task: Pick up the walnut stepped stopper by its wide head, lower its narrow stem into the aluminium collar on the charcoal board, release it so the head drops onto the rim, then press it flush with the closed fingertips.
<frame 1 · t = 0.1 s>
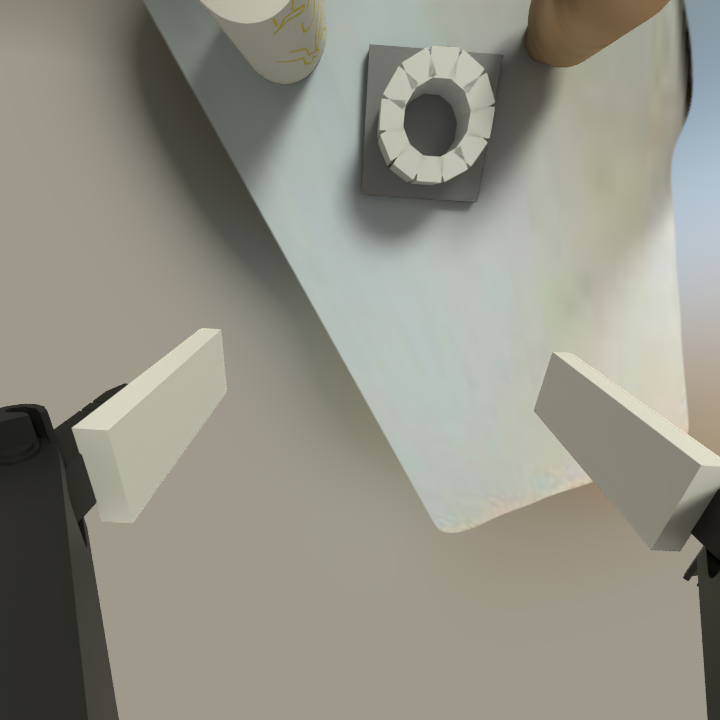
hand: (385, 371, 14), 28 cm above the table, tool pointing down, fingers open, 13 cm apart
cup: (281, 29, 31), on the table
stopper: (548, 34, 31), on the table
socket: (425, 131, 34), on the table
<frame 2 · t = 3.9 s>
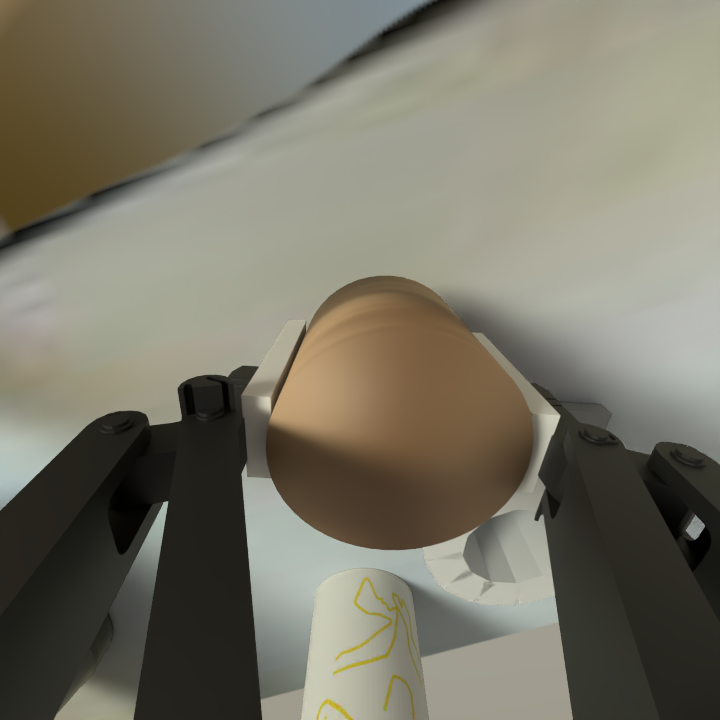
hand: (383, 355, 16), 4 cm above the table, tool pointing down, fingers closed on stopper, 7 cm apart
cup: (363, 598, 29), on the table
stopper: (378, 326, 19), on the table, touching gripper
socket: (482, 475, 24), on the table
when the fingers open (7 cm above the table, at t = 9.5 s): stopper drops 1 cm, resting on socket.
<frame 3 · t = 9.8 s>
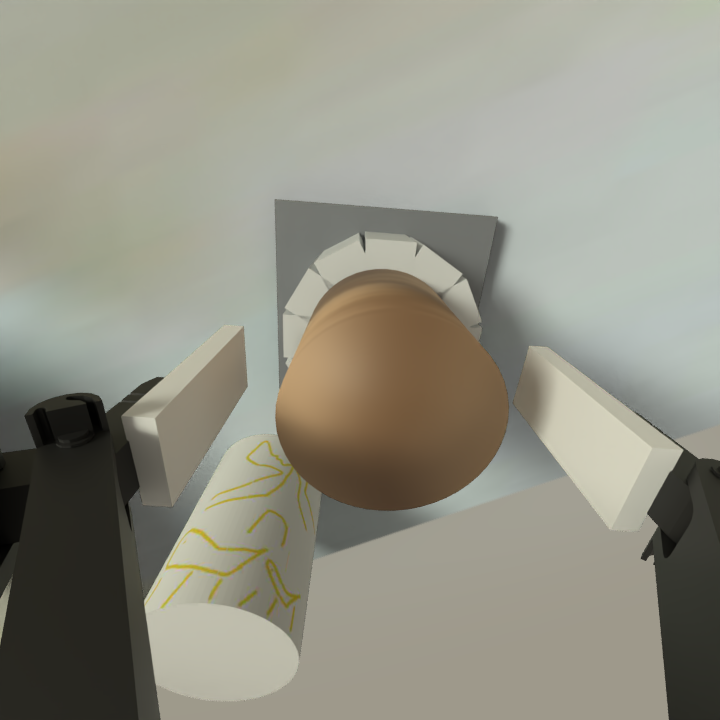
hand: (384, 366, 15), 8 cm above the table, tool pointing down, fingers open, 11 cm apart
cup: (272, 475, 28), on the table
stopper: (376, 317, 21), point 1 cm above the table, touching socket
socket: (376, 311, 22), on the table
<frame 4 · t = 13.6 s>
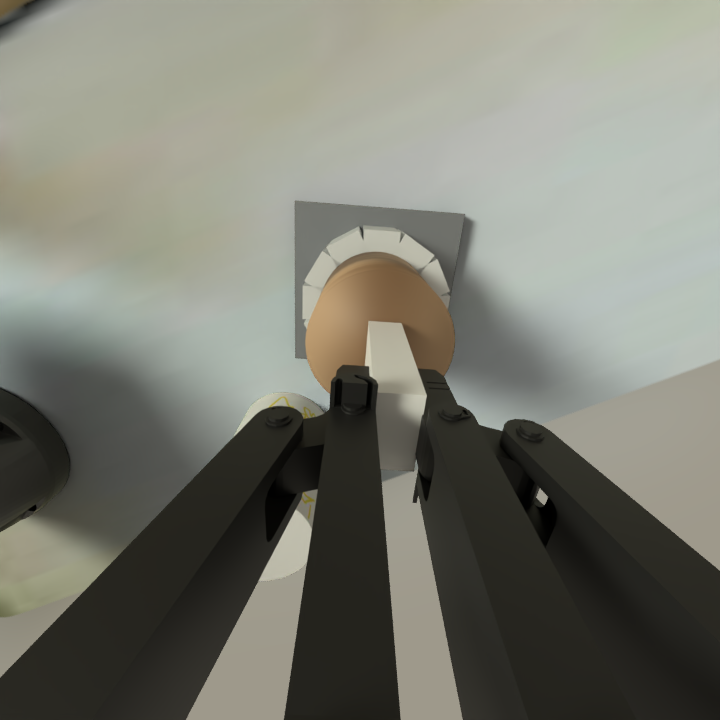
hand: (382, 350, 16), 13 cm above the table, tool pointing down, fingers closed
cup: (287, 428, 33), on the table
stopper: (372, 293, 26), point 1 cm above the table, touching gripper, socket
socket: (372, 289, 28), on the table
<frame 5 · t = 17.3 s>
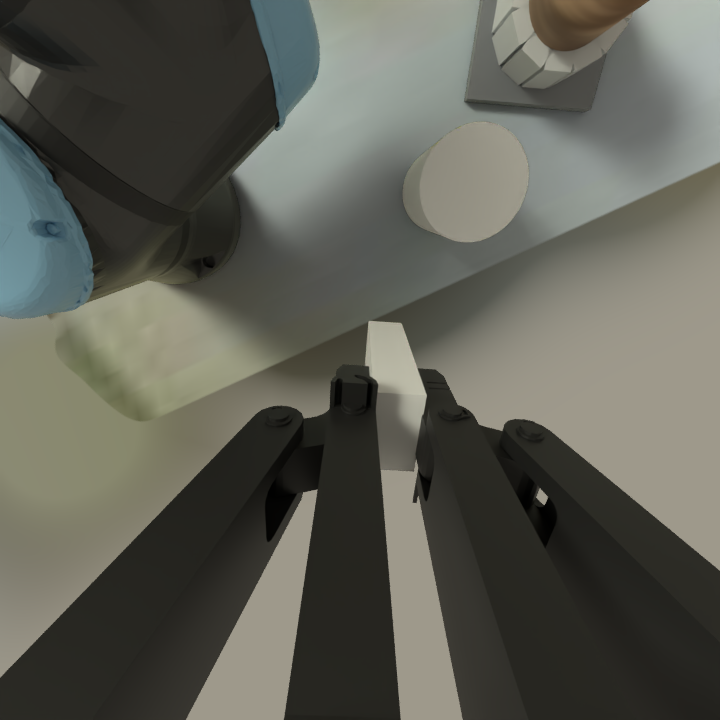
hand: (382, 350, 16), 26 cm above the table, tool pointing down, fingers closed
cup: (440, 191, 37), on the table
stopper: (549, 18, 30), point 1 cm above the table, touching socket
socket: (542, 27, 32), on the table
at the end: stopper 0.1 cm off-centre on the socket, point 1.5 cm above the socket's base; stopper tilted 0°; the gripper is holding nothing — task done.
